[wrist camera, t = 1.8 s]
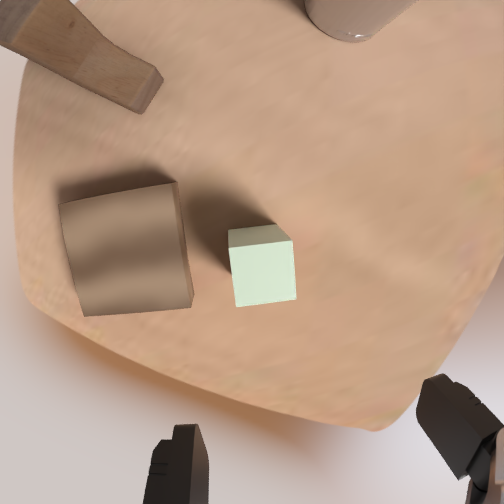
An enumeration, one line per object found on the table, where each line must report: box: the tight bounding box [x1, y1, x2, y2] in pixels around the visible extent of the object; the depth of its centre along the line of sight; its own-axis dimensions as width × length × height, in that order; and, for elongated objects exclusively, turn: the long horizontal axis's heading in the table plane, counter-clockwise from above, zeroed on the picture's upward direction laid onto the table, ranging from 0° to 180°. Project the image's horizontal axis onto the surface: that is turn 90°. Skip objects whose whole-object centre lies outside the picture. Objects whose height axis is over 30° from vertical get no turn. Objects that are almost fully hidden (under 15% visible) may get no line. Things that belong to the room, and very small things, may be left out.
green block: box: [228, 224, 296, 307], centre depth 29 cm, size 5×5×8 cm
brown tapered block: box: [58, 182, 194, 317], centre depth 30 cm, size 12×12×4 cm
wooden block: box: [0, 0, 164, 114], centre depth 18 cm, size 9×4×18 cm, turn 59°
